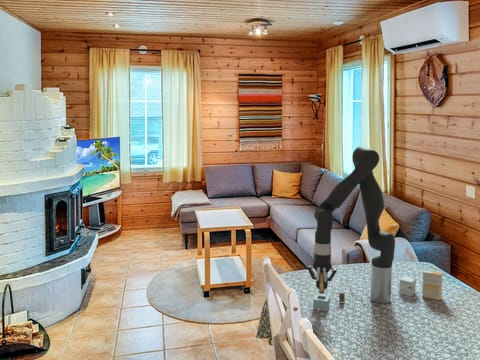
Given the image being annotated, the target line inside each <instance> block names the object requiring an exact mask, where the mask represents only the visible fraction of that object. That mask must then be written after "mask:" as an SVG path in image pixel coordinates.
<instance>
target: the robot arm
mask: <svg viewBox="0 0 480 360" xmlns="http://www.w3.org/2000/svg"><path fill="white" fill-rule="evenodd" d="M351 157H352V158H351V159H352V163H353V166H354V169H353V170H352V171H351V173H350V174H348V175H347V176H346V177H345V178H343V179H342V180H341V181H340V182H338V183H337V184H336V186H334V188H333V189H332V190H331V191H330V193H329V195H328V196H327V198H325V200H323V201H322V202H321V203H320V204H319V205H318V206H317V208H316V209H315V211H314V214H313V216H314V219H315V220H316V224H317V225H316V230H315V232H314V244H313V245H314V246H313V264H312V265H308V266H307V270H308V273H309V275H310V277H311V279H312V280H315V287H316V288H317V289H318V290H319V275H320V273H323V274H324V291H326V290H327V289H328V285H329V283H328V282H331V281H332V280H333V278H334V276H335V275H336V273H337V272H338V269H337V268H334V267H333V266H332V257H331V256H332V229H333V225H334V215H333V213H334V211H336V210H337V209H339V208H341V207H342V205H343V204H344V203H345V202H346V200H347V199H348V197H349V196H350V195H351V193H352V192H353V191H354V189H356V188H357V186H358V185H359V190H360V194H361V202H362V206H363V209H364V210H363V211H364V215H365V223H366V229H367V232H366V233H367V240H368V245H369V247H370V248H371V249H373V250H376V251H378V252H380V254H379V255H377V256H374V257H372V259H371V274H370V275H371V276H370V278H371V279H370V300H371V301H372V302H375V303H376V304H377V303H378V304H388V303H391V300H392V294H391V293H392V279H393V277H392V276H393V275H392V274H393V272H392V271H393V262H394V259H395V250H396V248H395V247H396V238H395V235H394V234H392V233H390V232H386V231H382V230H381V228H380V218H381V216H382V214H383V211H384V209H385V201H384V195H383V192H382V189H381V187H380V185H379V182H378V181H377V180H376V177H375V175H374V172H373V170H374V169H375V168H376V167H377V166H378V164H379V161H380V155H379V153H378V152H377V150H375V149H372V148H369V147H367V146H361V145H360V146H358V147H356V148H355V149H354V150H353V153H352V156H351ZM314 271H315V272H314ZM329 272H330V273H331V274H330V276H328V275H329ZM315 273H316V274H315Z"/></svg>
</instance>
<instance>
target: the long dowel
mask: <svg viewBox="0 0 480 360" xmlns="http://www.w3.org/2000/svg"><path fill="white" fill-rule="evenodd" d="M318 294H320V295H325V290H324V274H323V273H320V275H319V289H318Z"/></svg>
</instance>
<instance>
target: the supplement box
mask: <svg viewBox="0 0 480 360" xmlns="http://www.w3.org/2000/svg"><path fill="white" fill-rule="evenodd" d="M443 272H444V271H438V270H433V269H425V268H424V270H423V271H422V290H421V291H422V292H421V298H422V299H429V300H435V301H441V299H442V294H443V292H442V291H443Z"/></svg>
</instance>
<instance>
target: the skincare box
mask: <svg viewBox="0 0 480 360" xmlns="http://www.w3.org/2000/svg"><path fill="white" fill-rule="evenodd" d="M416 285H417V279H416V278H413V277H410V276H402V277H401V278H400V279H399V288H398V289H399V290H398V293H399V294H400V295H404V296H407V297H413V295H414V294H415V293H416V288H417V287H416Z"/></svg>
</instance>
